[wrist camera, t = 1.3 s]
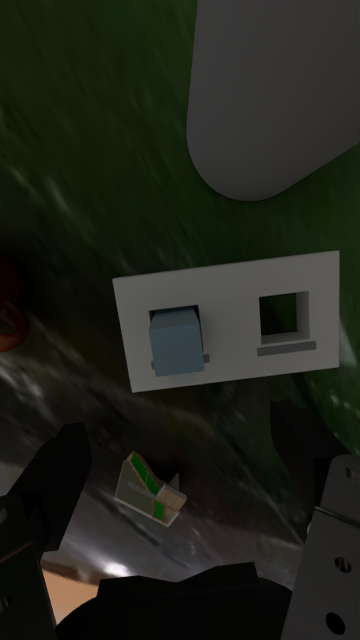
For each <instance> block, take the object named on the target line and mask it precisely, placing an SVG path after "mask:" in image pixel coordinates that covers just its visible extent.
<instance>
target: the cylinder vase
mask: <svg viewBox="0 0 360 640" xmlns="http://www.w3.org/2000/svg"><path fill="white" fill-rule="evenodd" d="M186 134H187V144H188V149H189V153H190V156H191V159H192V161H193V164H194V166H195V168H196V170H197V171H198V173H199V174H200V176H201V177H202V178H203V180H204V181H205V182H206V183H207V184H208V185H209V186H210V187H211V188H213V189H214V190H215V191H217V192H218V193H220V194H222V195H224V196H226V197H228V198H231V199H234V200H239V201H259V200H264V199H267V198H270V197H273V196H275V195H277V194H279V193H281V192H282V191H284V190H286V189H287V188H289V187H290V186H292V185H293V184H295V183H297V182H298V181H300V180H301V179H303V178H304V177H306V176H308V175H309V174H311V173H312V172H314V171H315V170H317V169H319V168H320V167H322V166H323V165H325V164H326V163H328V162H330V161H331V160H333V159H334V158H336V157H337V156H339V155H341V154H342V153H344V152H345V151H347V150H348V149H350V148H352V147H353V146H355V145H356V144H358V143H359V142H360V0H198V4H197V15H196V26H195V37H194V48H193V59H192V70H191V81H190V92H189V103H188V114H187V126H186Z"/></svg>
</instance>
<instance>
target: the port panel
mask: <svg viewBox="0 0 360 640" xmlns="http://www.w3.org/2000/svg"><path fill="white" fill-rule="evenodd" d="M112 280H113V286H114V291H115V297H116V303H117V308H118V314H119V320H120V326H121V331H122V337H123V343H124V348H125V354H126V360H127V366H128V371H129V377H130V383H131V388H132V392H140V391H148V390H156V389H164V388H172V387H181V386H189V385H197V384H205V383H213V382H221V381H229V380H237V379H245V378H254V377H262V376H270V375H278V374H286V373H294V372H302V371H310V370H319V369H327V368H335V367H339V251H324V252H316V253H308V254H300V255H292V256H284V257H276V258H268V259H260V260H252V261H244V262H236V263H228V264H220V265H212V266H204V267H196V268H188V269H180V270H172V271H164V272H156V273H148V274H141V275H133V276H125V277H118V278H114V279H112ZM294 292H296V314H297V332H288V333H280V334H272V335H264V336H261V327H260V311H259V297H262V296H270V295H278V294H286V293H294ZM190 305H197V313H198V321H199V325H200V334H201V343H202V352H203V361H204V370H205V371H201V372H195V380H196V383H189V384H181V385H173V386H168V382H167V376H160V377H156V375H155V369H154V362H153V356H152V349H151V342H150V336H149V327H150V325H151V322H152V319H153V316H152V310H158V309H166V308H174V307H182V306H190Z"/></svg>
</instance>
